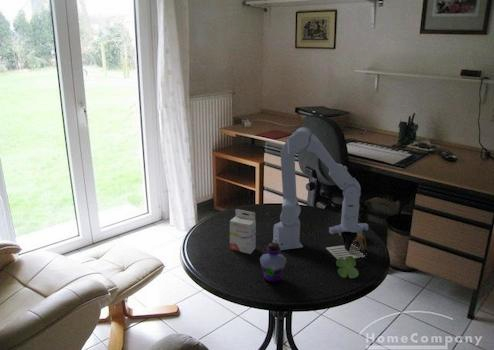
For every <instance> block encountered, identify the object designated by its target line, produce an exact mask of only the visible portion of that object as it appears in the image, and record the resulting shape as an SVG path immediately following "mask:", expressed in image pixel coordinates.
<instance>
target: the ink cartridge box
mask: <svg viewBox="0 0 494 350" xmlns="http://www.w3.org/2000/svg"><path fill="white" fill-rule="evenodd" d="M234 211H235V216H234V217H233V218H231V219H230V220H229V250H232V251H236V252H241V253H244V254H249V255H251V254H252V253H253V252H254V250H255V249H256V238H257V237H256V233H257V230H256V226H257V225H256V223H257V220H256V212H254V211H249V210H243V209H238V208H235V210H234ZM246 214H247V215H246Z"/></svg>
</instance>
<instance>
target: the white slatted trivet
mask: <svg viewBox="0 0 494 350" xmlns="http://www.w3.org/2000/svg"><path fill="white" fill-rule="evenodd" d="M353 244H354V243H352V244H351V247H350V250H349V251H347V250H346V249H345V246H344V244H343V245H337V246H336V245H335V246H329V247H325V249H326V250H327V251H328V252H329V253H330V254H331V255H332V256H333V257H334V258H335V259H336V260H337V259H338V258H343V259H345V260H346V257H347V256H351V257H353V258H354V259H359V258H360V257H361V258H366V257H365V255H363V253H361V252H360V251H359V250H360V249H356V248H358V247H359V246H358V247H356V246H355V245H356V244H355V245H353Z"/></svg>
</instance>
